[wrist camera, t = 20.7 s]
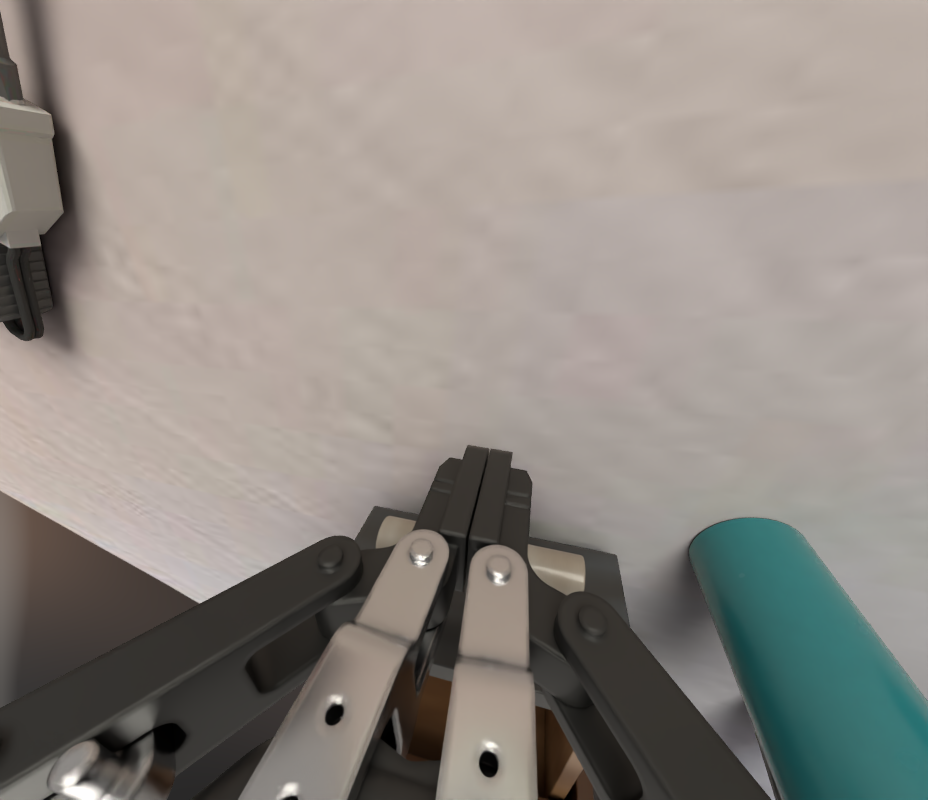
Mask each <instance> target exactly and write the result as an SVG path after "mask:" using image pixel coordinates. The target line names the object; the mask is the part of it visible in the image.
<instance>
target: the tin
mask: <svg viewBox="0 0 928 800" xmlns="http://www.w3.org/2000/svg"><path fill="white" fill-rule="evenodd" d="M689 559H690V562H691V565H692V567H693V570H694V573H695V575H696V578H697V580H698V583H699V586H700V588H701V591H702V593H703V596H704V599H705V601H706V604H707V606H708V609H709V612H710V614H711V617H712V620H713V622H714V625H715V627H716V630H717V633H718V635H719V638H720V640H721V643H722V646H723V648H724V651H725V653H726V656H727V659H728V661H729V664H730V666H731V669H732V672H733V674H734V677H735V679H736V682H737V685H738V687H739V690H740V692H741V695H742V698H743V700H744V703H745V705H746V708H747V711H748V713H749V716H750V718H751V721H752V724H753V726H754V729H755V732H756V734H757V737H758V739H759V742H760V745H761V747H762V750H763V752H764V755H765V758H766V760H767V763H768V765H769V768H770V771H771V773H772V776H773V778H774V781H775V784H776V786H777V789H778V791H779V794H780V797H781V799H782V800H928V701H927V700H926V698H925V697H924V696H923V694H922V693H921V692H920V690H919V689H918V688H917V686H916V685H915V684H914V682H913V681H912V680H911V678H910V677H909V676H908V674H907V673H906V672H905V670H904V669H903V668H902V666H901V665H900V664H899V662H898V661H897V660H896V658H895V657H894V656H893V654H892V653H891V652H890V650H889V649H888V648H887V646H886V645H885V644H884V642H883V641H882V640H881V638H880V637H879V636H878V634H877V633H876V632H875V631H874V629H873V628H872V627H871V625H870V624H869V623H868V621H867V620H866V619H865V617H864V616H863V615H862V613H861V612H860V611H859V609H858V608H857V607H856V605H855V604H854V603H853V601H852V600H851V599H850V597H849V596H848V595H847V593H846V592H845V591H844V589H843V588H842V587H841V585H840V584H839V583H838V581H837V580H836V579H835V577H834V576H833V575H832V573H831V572H830V571H829V569H828V568H827V567H826V565H825V564H824V563H823V561H822V560H821V559H820V557H819V556H818V555H817V553H816V552H815V551H814V549H813V548H812V547H811V545H810V544H809V543H808V541H807V540H806V539H805V538H804V536H803V535H802V534H801V533H800V532H798V531H797V530H796V529H794V528H793V527H791V526H789V525H787V524H784V523H782V522H779V521H775V520H770V519H764V518H740V519H733V520H728V521H724V522H721V523H718V524H715V525H713V526H711V527H709V528H707V529H706V530H704V531H702V532H701V533H700V534H699V535H698V536H697V537H696V538H695V539H694V540H693V542H692V543H691V546H690V549H689Z"/></svg>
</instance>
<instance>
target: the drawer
mask: <svg viewBox="0 0 928 800" xmlns="http://www.w3.org/2000/svg"><path fill="white" fill-rule="evenodd" d="M418 516H419V515H418V514H413V513H408V512H403V511H398V510H393V509H388V508H383V507H378V506H374V508H373V510H372V511H371V513H370V515H369V517H368V518H367V520H366V522H365V523H364V525H363V527H362V528H361V530H360V532H359V534H358V535H357V537H356V539H355V540H354V541H356V543H357V544H358V545H359V547H360V550H365V549H376V548H385V547H389V546H393V545H395V544H397V543H398V541H399V540H400V539H401V538H402V537H403V536H404V535H406V534H408V533H409V532H411V531H412V529H413V528H414V525H415V523H416V521H417V518H418ZM528 560H529V563H530V565H531V567H532V569H533V571H534V572H535V573H536V575H537V576H538V577H539V578H540V579H541V580H542V581H544V582H545V583H546V584H548V585H549V586H551V587H553V588H555V589H556V590H558V591H560V592H562V593H563V594H565V595H569V594H571V593H573V592H578V591H584V592H590V593H593V594H595V595H597V596H600V597H601V598H603V599H604V600H606V601H607V602H608V603H609V604H610V605H611V606H612V607H613V608H614V609H615V610H616V611H617V612H618V614H619V615H620V616H621V617H622V618H623V620H624V621H625V622H626V623H627V625H628V626H629V627H630V625H629V619H628V614H627V608H626V603H625V597H624V592H623V586H622V581H621V575H620V570H619V565H618V559H617V555H615V554H610V553H605V552H600V551H595V550H590V549H586V548H581V547H576V546H571V545H566V544H561V543H556V542H551V541H546V540H541V539H536V538H531V537H529V538H528ZM465 588H466V581H465V585H464V589H463V592H458V591H454V594H453V598H452V602H451V606H450V609H449V612H448V617H447V621H446V624H445V628H444V631H443V634H442V637H441V640H440V643H439V646H438V649H437V652H436V655H435V658H434V661H433V664H432V667H431V670H430V673H429V676H428V679H427V682H426V685H425V688H424V691H423V695H422V698H421V702H420V706H419V710H418V716H417V721H416V725H415V729H414V733H413V737H412V740H411V744H410V747H409V750H408V753H410V754H413V755H416V756H419V757H422V758H425V759H428V760H431V761H436V760H441V757H442V750H443V743H444V736H445V729H446V722H447V715H448V708H449V701H450V695H451V688H452V681H453V674H454V668H455V662H456V657H457V654H458V648H459V641H460V634H461V627H462V620H463V613H464V606H465V598H466V593H465ZM534 688H535V717H536V754H537V791H538V796H541V797H544V798H547V799H550V800H564V799H565V797H566V795H567V794H568V792H569V791H570V789H571V788H572V786H573V784H574V783H575V781H576V780H577V778H578V776H579V775H580V773H581V772H582V770H583V767H582V765H581V764H580V762H579V760H578V758H577V756H576V754H575V753H574V751H573V749H572V747H571V745H570V743H569V741H568V740H567V738H566V736H565V734H564V732H563V730H562V728H561V727H560V725H559V723H558V721H557V719H556V717H555V715H554V714H553V712H552V710H551V708H550V706H549V704H548V703H547V701H546V699H545V697H544V695H543V693H542V690H541V687H540V686H539V685H537V684H536V683H535V682H534Z"/></svg>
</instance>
